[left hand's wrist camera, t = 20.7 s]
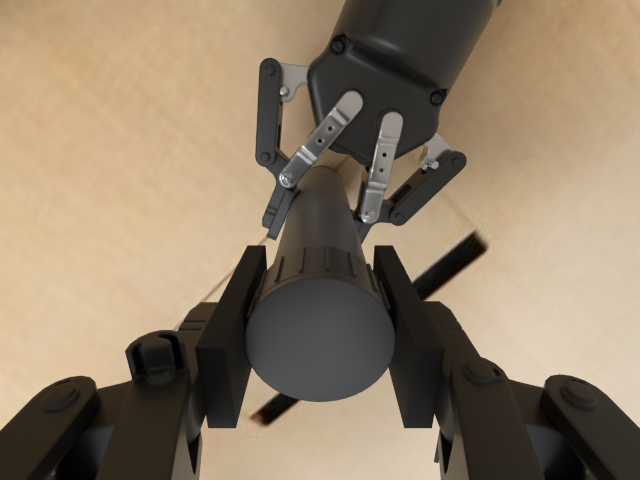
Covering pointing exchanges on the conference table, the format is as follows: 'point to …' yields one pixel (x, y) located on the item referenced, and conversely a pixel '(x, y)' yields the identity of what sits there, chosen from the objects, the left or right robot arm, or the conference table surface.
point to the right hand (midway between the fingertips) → (303, 246)
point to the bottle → (320, 215)
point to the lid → (320, 325)
